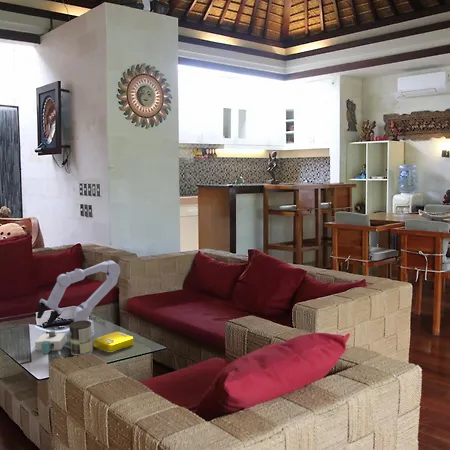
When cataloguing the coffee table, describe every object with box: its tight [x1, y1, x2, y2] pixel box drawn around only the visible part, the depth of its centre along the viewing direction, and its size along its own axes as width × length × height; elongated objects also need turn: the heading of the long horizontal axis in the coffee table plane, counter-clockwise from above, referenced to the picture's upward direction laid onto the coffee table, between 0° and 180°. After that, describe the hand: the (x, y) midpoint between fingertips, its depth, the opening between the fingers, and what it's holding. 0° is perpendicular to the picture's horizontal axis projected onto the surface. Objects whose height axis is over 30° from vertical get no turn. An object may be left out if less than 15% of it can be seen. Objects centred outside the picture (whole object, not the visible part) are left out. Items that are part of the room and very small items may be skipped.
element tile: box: [93, 331, 135, 352], centre depth 276 cm, size 15×15×5 cm
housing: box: [34, 332, 68, 352], centre depth 278 cm, size 12×12×4 cm
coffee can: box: [68, 320, 94, 357], centre depth 268 cm, size 10×10×14 cm
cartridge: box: [41, 341, 53, 355], centre depth 274 cm, size 14×3×5 cm, turn 0°
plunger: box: [48, 330, 56, 337], centre depth 280 cm, size 3×3×2 cm
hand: (43, 321), depth 280 cm, fingers open, 7 cm apart
